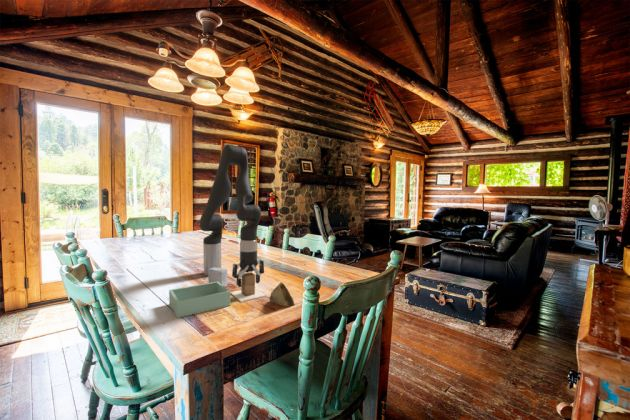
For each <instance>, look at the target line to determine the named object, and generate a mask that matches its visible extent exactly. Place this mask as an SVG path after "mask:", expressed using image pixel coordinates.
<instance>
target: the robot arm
mask: <svg viewBox="0 0 630 420" xmlns="http://www.w3.org/2000/svg"><path fill="white" fill-rule="evenodd" d="M231 165H232V166H237V167H238V166H239V174H238V176H237V178H236V180H235V184H234V188H235V194H236V199H237V202H236V203H237V205H236V212H235V213H236V218H237V219H238V220H239V221H241V222H248V221H249V223H248V224H247V225H244V226H242V227H240V243H239V263H233V264H232V271H231V272H232V273H231V276H232V278H233V279H236V286H237V287H238V288H241V277H242V275H244V273H249V272H251V273H253V272H254V273H255V284H260V282H261V275H263V274H265V267H264V266H265V265H264V264H265V262H264V260H261V259H259V260H258V239H257V238H258V237H257V235H258V233H257V232H258V228H259V222H260V220H261V215H262V209H261V207H260V206H259V205H257V204H250V202H252V201H253V200H254V195H253V191H252V186H251V183H250V170H249V159H248V152H247V150H246V148H245V147H243V146H238V145H233V144H225V145H224V146H223V148H222V151H221V155H220V159H219V164H218V168H217V172H216V174H215V179H214V180H213V183H212V187H211V190H210V193H209V197H208V199H207V203H206V205H205V208H204V209H203V211H202V214H201V217H200V220H199V227H200V230H201V231H203V232H210V234H208V235H207V236H205V237H204V238H203V241H202V244H203V246H202V247H203V248H202V249H203V275H204V276H208V270H209V269H211V268H214V267H215V268H222V238H223V227H224V226H223V217H222V215H221V214H219V213H216V211H218V210H219V209H220V207H222V206H223V205H224V204H225V203H226V202H227V201H228V199H229V197H230V194H231V192H232V183H231V180H230V178H229V174H228V169H229V166H231ZM248 203H249V204H248ZM257 267H259V270H258V268H257Z"/></svg>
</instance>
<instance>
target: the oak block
mask: <svg viewBox="0 0 630 420" xmlns="http://www.w3.org/2000/svg"><path fill="white" fill-rule="evenodd" d="M255 287H256V273H255V274H254V273H253V272H247V273H246V272H245V273H244V275H242V277H241V287H240V288H241V289H240V290H241V293H242V294H243V295H244V296H249V295H253V294H255Z"/></svg>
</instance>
